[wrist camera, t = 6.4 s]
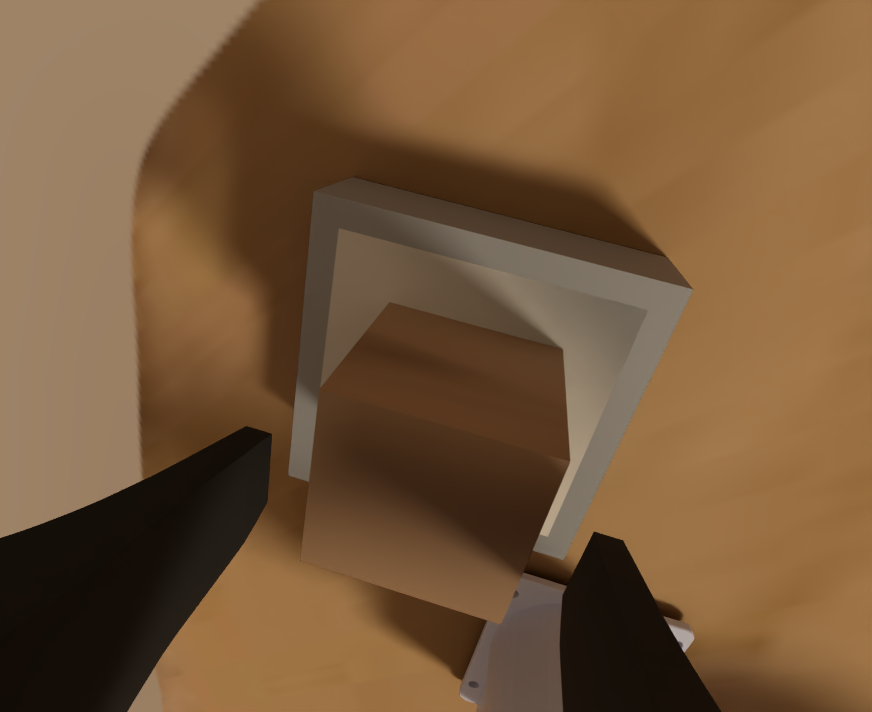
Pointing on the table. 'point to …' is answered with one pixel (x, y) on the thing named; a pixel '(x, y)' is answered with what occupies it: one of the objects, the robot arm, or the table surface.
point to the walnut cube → (437, 460)
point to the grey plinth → (489, 311)
